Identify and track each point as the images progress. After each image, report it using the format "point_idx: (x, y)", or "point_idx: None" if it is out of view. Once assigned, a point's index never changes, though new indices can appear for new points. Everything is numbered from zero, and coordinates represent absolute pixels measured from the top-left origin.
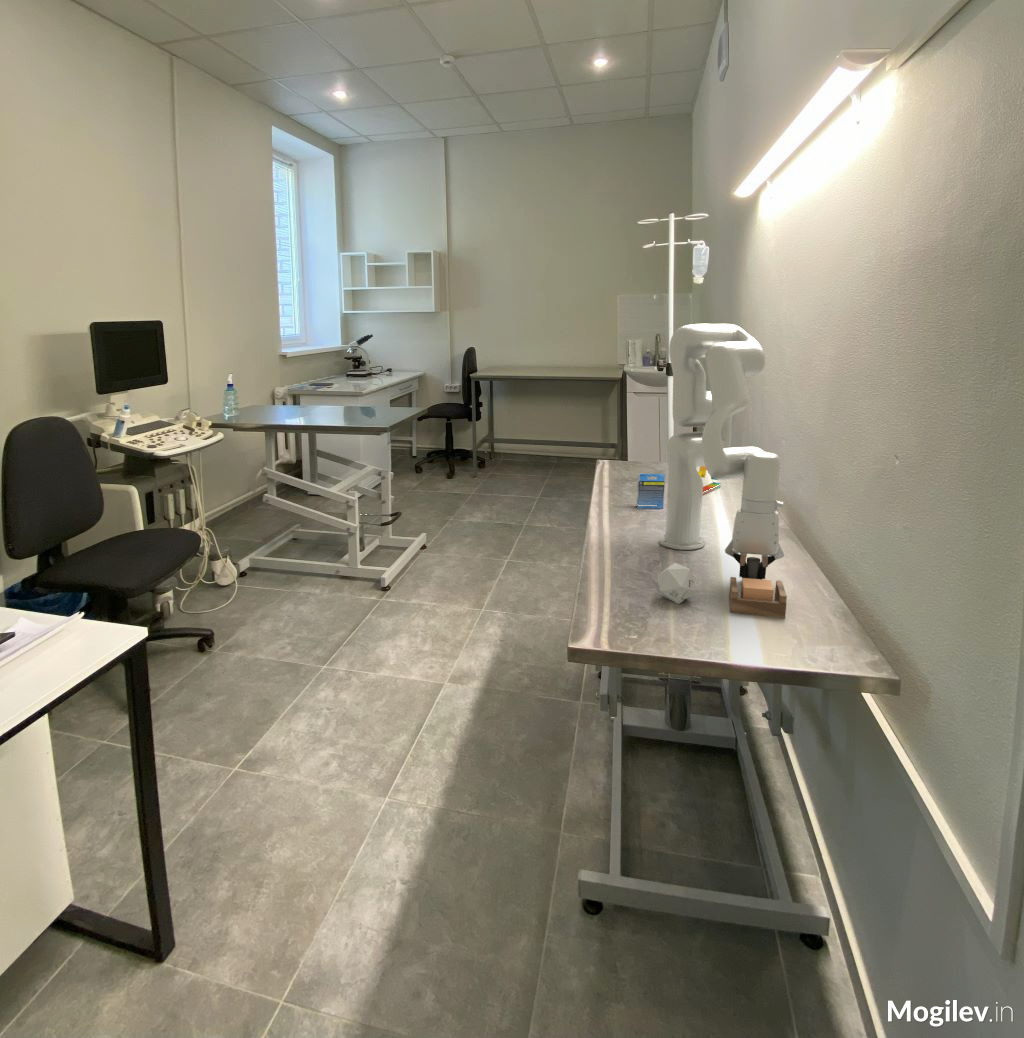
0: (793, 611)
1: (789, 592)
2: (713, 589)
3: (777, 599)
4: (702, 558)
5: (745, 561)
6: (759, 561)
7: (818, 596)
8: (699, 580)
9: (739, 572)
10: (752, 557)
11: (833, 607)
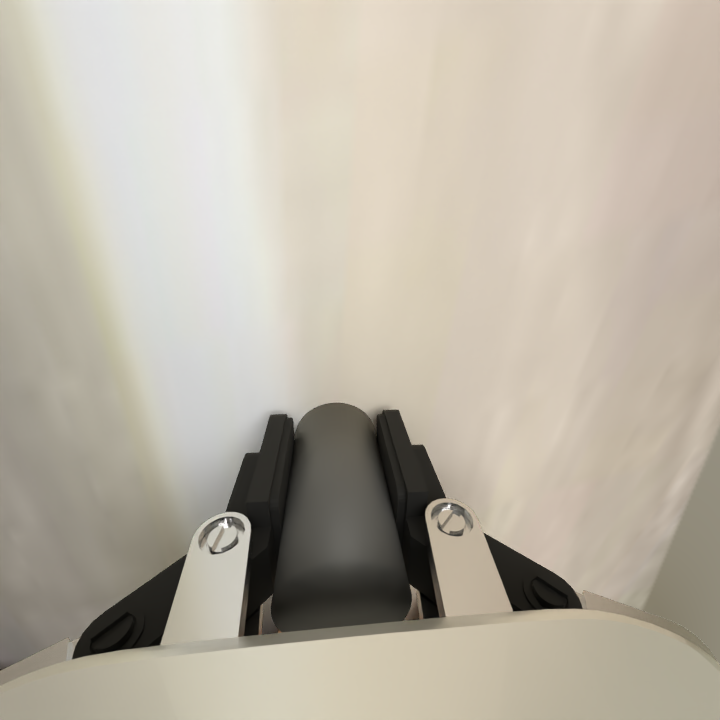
0: None
1: (515, 505)
2: (134, 570)
3: None
4: None
5: (264, 566)
6: (396, 613)
7: (631, 512)
8: (4, 479)
9: (242, 464)
10: (332, 574)
11: (631, 589)
